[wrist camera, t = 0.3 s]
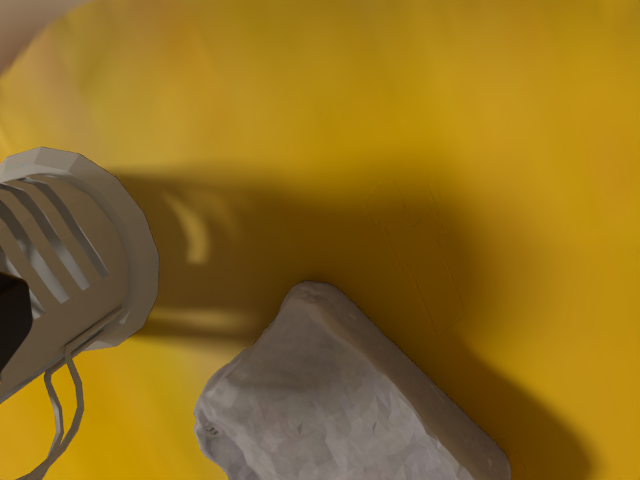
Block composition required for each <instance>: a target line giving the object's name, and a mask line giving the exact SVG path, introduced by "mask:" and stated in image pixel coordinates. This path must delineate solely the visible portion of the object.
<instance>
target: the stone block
mask: <svg viewBox="0 0 640 480" xmlns="http://www.w3.org/2000/svg"><path fill="white" fill-rule="evenodd" d="M193 413H194V415H195V417H196V424H195V426H194V432H195V435H196V437H197V439H198V443H199V446H200V449H201V451H202V452H203V454H204V455H205V456H206V457H207V458H209V459H210V460H211V461H213V462H214V463H216V464H217V465H219V466H220V467H221V468H222V469H223V471H224V472H225V473H226V474H227V476H228V478H229V480H511V468H510V463H509V460H508V458H507V457H506V455H505V453H504V452H503V451H502V450H501V449H500V448H499V446H498V445H497V444H496V443H495V442H494V441H493V440H492V439H491V438H490V437H489V436H488V435H487V434H486V433H485V432H484V431H483V430H482V429H481V428H480V427H479V426H478V425H477V424H476V423H475V422H474V421H473V420H472V419H471V418H470V417H469V416H468V415H467V414H465V413H464V412H463V411H462V410H461V409H460V408H459V407H458V406H457V405H456V404H455V403H454V402H453V401H452V400H451V399H450V398H449V397H448V396H447V395H446V394H445V393H444V392H443V391H442V390H441V389H440V388H439V387H438V386H437V385H436V384H435V383H434V382H433V381H432V380H431V379H430V378H429V377H428V376H427V375H426V374H425V373H423V372H422V371H421V370H420V369H419V368H418V367H417V366H416V365H415V364H414V363H413V362H412V361H411V360H410V359H409V358H408V356H407V355H406V354H405V353H404V352H403V351H401V350H400V349H399V348H398V347H397V346H396V345H395V344H394V343H393V342H392V341H391V340H389V339H388V338H387V337H386V336H385V335H384V334H383V333H382V331H381V330H380V329H379V328H378V327H377V326H376V325H375V324H374V323H373V322H372V321H371V320H370V319H369V318H368V317H367V316H366V315H365V314H364V313H363V312H362V311H361V310H360V309H359V308H358V307H357V306H356V305H355V303H353V302H352V301H351V300H349V299H348V298H347V297H346V295H345V294H344V293H343V292H342V291H340V290H339V289H337V288H336V287H334V286H333V285H331V284H329V283H321V282H314V281H307V280H306V281H303V282H301V283H299V284H297V285H294V286H293V287H292V289H291V290H290V291H289V293H288V294H287V295H286V296H285V298H284V300H283V302H282V304H281V307H280V311H279V313H278V314H277V316H276V318H275V319H274V320H273V321H272V322H271V323H270V325H269V326H268V327H267V328H266V329H265V330H264V331H263V334H262V335H261V336H260V338H259V339H258V340H257V341H256V342H255V343H254V344H253V345H252V346H251V347H249V348H247V349H245V350H243V351H242V352H241V353H240V354H239V355H237V356H236V357H235V358H234V359H233V360H232V361H231V362H230V363H228V364H226V365H225V366H223V367H222V368H220V369H219V370H218V371H217V372H216V373H215V374H214V375H213V376H212V377H211V378H210V379H209V380H208V382H207V383H206V385H205V387H204V389H203V391H202V393H201V395H200V397H199V399H198V401H197V403H196V406H195V409H194V412H193Z"/></svg>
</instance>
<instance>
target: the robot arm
mask: <svg viewBox="0 0 640 480" xmlns="http://www.w3.org/2000/svg"><path fill="white" fill-rule="evenodd" d="M32 324H33V315H32V307H31V299H30V291H29V286H28V283H27V282H26V281H25V280H24V279H23V278H20V277H17V276H15V275H12V274H9V273H7V272H3V271H0V373H1V372H2V370H3V369H4V368H5V366H6V365H7V364H8V362H9V361H10V359H11V358H12V357H13V355H14V354H15V353H16V351H17V350H18V349H19V347H20V346H21V344H22V343H23V342H24V340H25V339H26V338H27V336H28V334H29V332H30V330H31V328H32Z"/></svg>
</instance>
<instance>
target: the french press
mask: <svg viewBox="0 0 640 480" xmlns="http://www.w3.org/2000/svg"><path fill="white" fill-rule="evenodd" d="M0 271H3V272H7V273H9V274H12V275H15V276H17V277H20V278H23V279H24V280H25V281H26V282H27V283H28V286H29V291H30V299H31V307H32V315H33V324H32V328H31V330H30V332H29V334H28V336H27V338H26V339H25V340H24V342H23V343H22V344H21V346H20V347H19V349H18V350H17V351H16V353H15V354H14V355H13V357H12V358H11V359H10V361H9V362H8V364H7V365H6V366H5V368H4V369H3V370H2V372H1V373H0V382H1V383H0V404H1V403H2V402H4V401H5V400H7V399H8V398H9V397H11V396H12V395H13V394H15V393H16V392H18V391H19V390H20V389H22V388H23V387H24V386H26V385H27V384H28V383H30V382H31V381H33V380H34V379H35V378H37V377H38V376H39V375H41V374H42V373H44V372H45V371H46V370H47V371H46V372H45V375H44V382H45V385H46V388H47V391H48V394H49V397H50V400H51V403H52V405H53V408H54V412H55V424H56V435H55V437H54V440H53V443H52V446H51V448H50V451H49V454H48V457H47V459H46V460H45V461H44V462H42V463H41V464H40V465H39V466H38V467H36V468H35V469H34V470H33V471H32V472H31V473H29V474H27V475H25V476H22V477H20V478H18V479H16V480H42V479H43V477H44V476H45V474H46V472H47V470H48V469H49V467H50V466H51V465H52V464H53V463H54V462H55V461H56V459H57V458H58V457H59V456H60V455H61V454H62V453H63V452H64V451H65V450H66V448H67V447H68V445H69V443H70V442H71V440H72V439H73V437H74V436H75V434H76V433H77V431H78V429H79V425H80V422H81V418H82V415H83V411H84V402H83V390H82V382H81V379H80V377H79V375H78V372H77V370H76V367H75V365H74V362H73V360H72V358H74V357H75V356H76V355H78V354H79V353H80V352H82V351H88V350H95V349H102V348H108V347H115V346H117V345H119V344H120V343H121V342H123V341H124V340H126V339H127V338H128V337H130V336H131V335H132V334H134V333H135V332H137V331H138V330H139V329H141V328H142V327H143V325H144V323H145V321H146V319H147V317H148V315H149V313H150V311H151V309H152V307H153V305H154V303H155V301H156V298H157V296H158V274H159V254H158V251H157V248H156V246H155V243H154V240H153V237H152V234H151V231H150V228H149V225H148V222H147V219H146V217H145V214H144V213H143V211H142V210H141V209H140V207H139V206H138V205H137V203H136V202H135V201H134V200H133V198H132V197H131V196H130V194H129V193H128V192H127V191H126V189H125V188H124V187H123V185H122V184H121V183H120V182H119V180H118V179H117V178H116V177H115V176H113V175H112V174H110V173H108V172H107V171H105V170H104V169H102V168H101V167H99V166H98V165H96V164H95V163H93V162H91V161H90V160H88V159H87V158H85V157H84V156H82V155H81V154H77V153H72V152H67V151H61V150H56V149H50V148H45V147H39V148H35V149H32V150H29V151H25V152H22V153H18V154H15V155H12V156H8V157H7V158H6V159H5V160H4V161H3V162H2V163H1V164H0ZM66 363H67V365H68V368H69V371H70V373H71V376H72V378H73V381H74V384H75V387H76V397H77V410H76V413H75V416H74V419H73V422H72V425H71V428H70V429H69V431H68V433H67V434H66V436H65V438H64V440H63V441H62V443H61V440H62V437H63V434H64V428H63V416H62V407H61V405H60V402H59V400H58V398H57V395H56V393H55V390H54V388H53V386H52V383H51V374H53V373H54V372H55V371H57V370H58V369H59V368H60V367H62V366H63V365H64V364H66ZM50 367H51V368H50ZM60 443H61V445H60Z"/></svg>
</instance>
